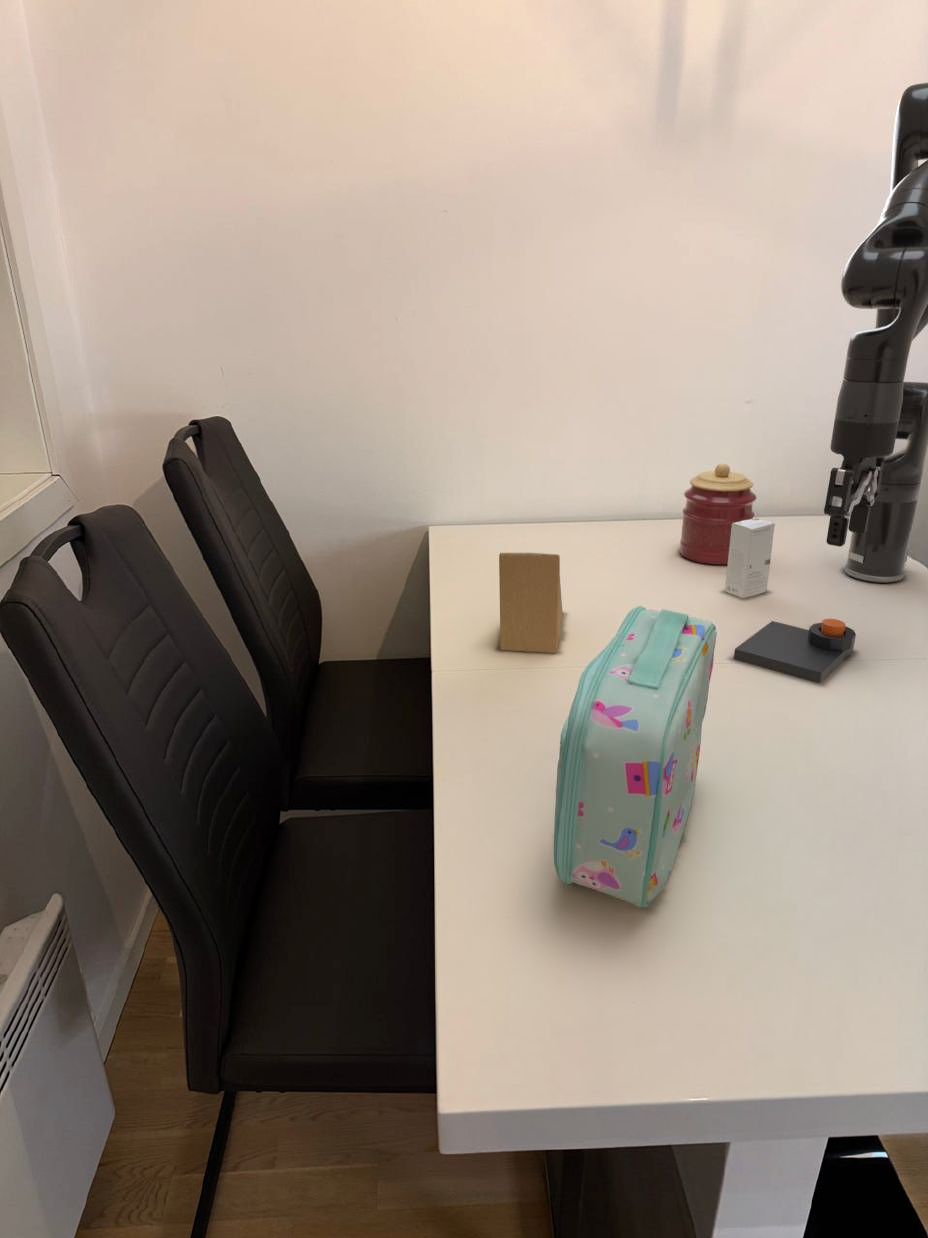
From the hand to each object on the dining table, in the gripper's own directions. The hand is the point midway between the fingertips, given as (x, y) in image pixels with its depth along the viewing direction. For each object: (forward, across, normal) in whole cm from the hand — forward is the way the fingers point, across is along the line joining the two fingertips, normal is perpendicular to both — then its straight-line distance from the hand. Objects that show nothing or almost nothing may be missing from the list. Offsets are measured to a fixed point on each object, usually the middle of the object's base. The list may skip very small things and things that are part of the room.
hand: (846, 538), depth 113 cm
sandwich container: (+17, -20, +37) cm, 46 cm away
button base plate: (+17, -4, +3) cm, 18 cm away
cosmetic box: (+17, +16, +19) cm, 30 cm away
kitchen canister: (+16, +31, +32) cm, 48 cm away
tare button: (+14, 0, 0) cm, 14 cm away
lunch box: (+18, -54, 0) cm, 57 cm away
